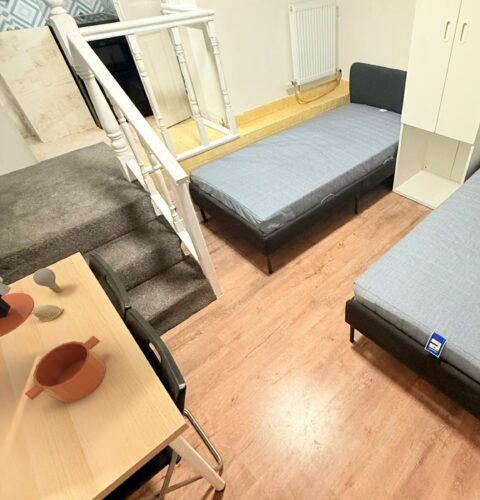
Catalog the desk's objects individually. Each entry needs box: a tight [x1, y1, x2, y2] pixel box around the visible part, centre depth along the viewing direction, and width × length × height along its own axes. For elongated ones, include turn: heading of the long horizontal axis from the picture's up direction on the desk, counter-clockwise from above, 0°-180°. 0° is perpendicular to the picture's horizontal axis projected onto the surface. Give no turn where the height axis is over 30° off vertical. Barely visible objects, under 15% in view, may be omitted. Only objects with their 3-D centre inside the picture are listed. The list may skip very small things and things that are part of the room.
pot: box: [24, 335, 106, 403], centre depth 86 cm, size 12×18×8 cm
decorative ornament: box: [30, 304, 64, 322], centre depth 102 cm, size 4×8×5 cm, turn 99°
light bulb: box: [32, 267, 61, 293], centre depth 108 cm, size 6×6×10 cm
